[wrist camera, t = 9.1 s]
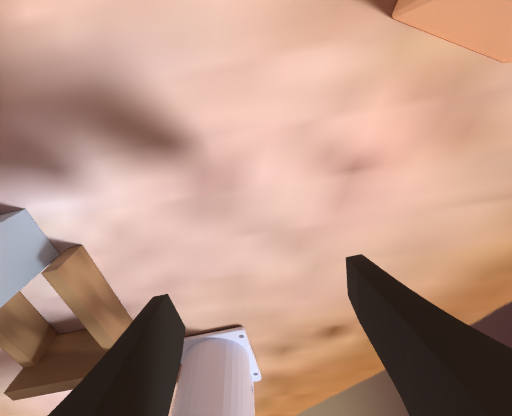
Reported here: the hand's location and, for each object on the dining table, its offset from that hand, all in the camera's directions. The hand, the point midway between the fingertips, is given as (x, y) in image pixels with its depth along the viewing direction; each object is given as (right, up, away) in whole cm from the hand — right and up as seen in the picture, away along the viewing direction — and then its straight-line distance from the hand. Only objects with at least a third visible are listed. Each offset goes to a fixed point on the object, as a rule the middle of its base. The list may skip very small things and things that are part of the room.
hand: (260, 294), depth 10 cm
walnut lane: (-18, -5, +13) cm, 22 cm away
